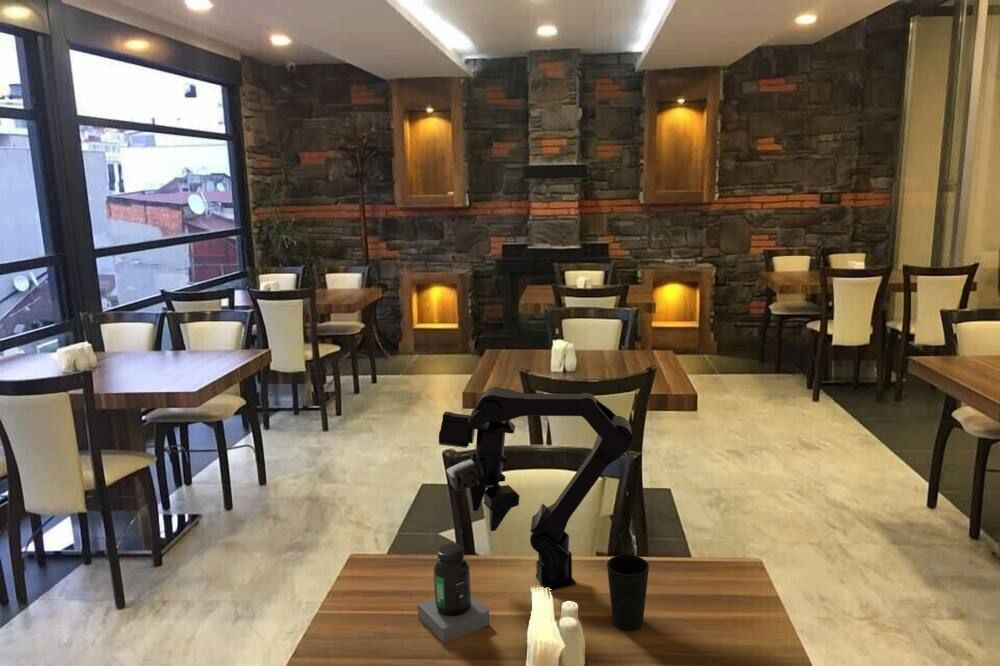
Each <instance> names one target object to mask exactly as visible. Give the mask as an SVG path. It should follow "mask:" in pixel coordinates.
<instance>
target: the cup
mask: <svg viewBox="0 0 1000 666" xmlns="http://www.w3.org/2000/svg"><path fill="white" fill-rule="evenodd" d="M606 567H607V576H608V579H607V580H608V588H609V596H610V597H609V599H610V607H611V608H610V609H611V615H612V616H611V618H612V623H613V626H614V627H615V628H616V629H618V630H620V631H622V632H636V631H639V630H640V629H641V628H642V627H643V624H644V616H645V615H644V614H645V607H646V597H647V588H648V587H647V586H648V579H649V570H650V566H649V562H647V561H646V559H644V558H643V557H641V556H637V555H633V554H619V555H615V556H613V557H611V558H609V559H608V561H607V562H606Z"/></svg>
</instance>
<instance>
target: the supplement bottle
mask: <svg viewBox="0 0 1000 666" xmlns="http://www.w3.org/2000/svg"><path fill="white" fill-rule="evenodd" d="M432 570H433V572H432V573H433V584H434V585H433V586H434V598H435V605H436V609H437V611H438V612H439V613H441V614H443V615H446V616H458V615H461V614H463V613H465V612H467V611H468V610H469V608H470V606H471V595H472V592H471V591H472V590H471V588H472V587H471V572H470V571H471V570H470V563H469V561H468V560H467V559H466V558H465V554H464V548H463V546H462V545H461V544H458V543H450V542H449V543H445V544H443V545H442V544H441V546H440V547H439V548H437V560H436V562H435V563H434V565H433V569H432Z"/></svg>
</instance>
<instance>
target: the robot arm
mask: <svg viewBox="0 0 1000 666" xmlns="http://www.w3.org/2000/svg"><path fill="white" fill-rule="evenodd" d="M520 417H582V418H583V419H584V420H585V421H586V422H587V424H589V426H590V427H591V428H592V430H594V432H595V433H596V434H597V436H596V438H595V441H594V443H593V444H594V445H593V447H592V449H591V451H590V453H588V456H587V457H586V458H585V459H584V461H583V462H582V464H581V465H580V467H579V468H578V469H577V471H576V472H575V474H574V475H573V476H572V478H571V479H570V481H569V482H568V484H567V485H566V487H565V488H564V489H563V490H562V491H561V494H559V495H558V498H557V499H556V500H555V502H554V503H553V504H550V505H549V506H546V504H544V503H541V506H540V507H539V509H538V511H537V512H536V514H534V515H532V518H531V525H530V538H529V539H530V540H529V541H530V545H531V547H532V549H533V550H534V551H535V552H536V553H538V555H537V556H538V560H536V563H535V564H536V574H535V577H536V579H537V581H538V582H539V583H540V585H542V586H543V587H544V586H545V587H549V588H550V589H552V590H551V591H554V590H558V589H562V588H565V587H566V588H567V587H570V586H573V585H574V586H575V585H576V580H575V579H574V578H573V560H572V559H573V558H572V557H573V555H572V552H571V551H570V535H569V534H568V533H567V532H566V531H565V530H566V527H567V524H568V522H569V520H570V519H571V518H572V515H573V514H574V513H575V511H576V510H577V509H578V508H579V506H580V504H581V503H582V502H583V500H584V499H585V497H586V496H587V495H588V494H589V492H590V491H591V489H592V488H593V487H594V485H595V484H596V483H597V481H598V480H599V479H600V476H601V475H602V474H603V473H604V471H605V470H606V469H607V468H608V467H609V466H610V465H611V464H613V463H615V462H616V461H618V460H619V459H621V458H622V456H624V454H626V453H627V451H630V449H631V447H632V445H633V440H634V439H633V433H632V427H631V424H630V423H629V421H628V420H627V418H626V417H623V416H621V415H616V413H614V411H612V410H611V409H610V408H608V407H607V406H606V405H605V404H603V403H602V402H600V401H599V400H598V399H597V398H596V396H594V394H592V393H591V392H590V393H589V392H582V393H526V392H525V393H524V392H523V393H522V392H519V391H516V390H514V389H510V388H505V387H499V386H492V387H489V388H487V389H485V391H483V392H482V395H481V397H480V400H479V401H478V404H477V406H476V407H475V408H473V409H472V411H471V413H470V414H463V413H455V412H451V411H444V412H443V414H442V420H441V424H440V431H439V432H438V444H439V445H440V446H447V447H455V448H463V449H467V448H468V447H469V446H470V444H474V441H475V433H476V443H475V450H473V451H471V452H470V456H469V459H467V458H466V459H461V460H460V461H459V462H458V463H457V464H455V465H452V466H450V467H448V468H447V469H446V470H445V471H446V475H447V477H448V481H449V484H450V486H452V487H453V489H454V490H455V491H457V492H460V491H463V490H467V489H468V494H469V498H470V503H471V508H472V511H473V512H476V511H479V509H480V506H481V504H482V501H483V499H484V501H483V504H484V505H485V506H486V507H487V508H488V515H489V517H488V518H489V529H490V531H491V532H495V531H497V529H498V528H499V526H500V525H501V523H502V521H503V520H504V518H505V517H506V515H507V514H508V513H509V512H510V510H511V509H512V508H515V507H518V506H519V505H520V497H521V495H520V494H519V493H517V491H516V490H515V489H513V487H511V486H510V485H509V484H506V485H500V483H501V482H505V481H506V475H504V473H503V465H504V464H505V463H507V462H508V457H507V456H506V455H505V454H504V451H505V441H506V434H514V433H515V429H516V425H515V424H514V423H513V422H512V420H515V419H518V418H520ZM476 430H477V432H476ZM545 587H544V588H545Z"/></svg>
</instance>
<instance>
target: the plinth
mask: <svg viewBox="0 0 1000 666" xmlns="http://www.w3.org/2000/svg"><path fill="white" fill-rule="evenodd" d="M417 617H418V619H419V620H420V621H421V623H423V624H424V625H425V627H426V628H427V629H428V630H430V632H431V633H432V634H434V636H435V637H436V638H437V639H438V640H439V641H440V642H441V643H442V644H443V645H444V644H446V642H447V643H449V642H452V641H454V640H456V639H458V638H461V637H464V636H466V635H468V634H471V633H473V632H475V630H476V631H478V630H480V629H483V628H485V627H488V626H490V624H491V623H490V610H489V609H488V608H487V607H485V605H484V604H483V603H481V602H480V601H479V600H478V599H477V598H475V597H474V596H473V595H472V594H471V606H470V608H469V610H468V611H467V612H465V613H463V614H461V615H458V616H446V615H443V614H441V613H439V612H438V611H437V609H436V605H435V597H433V598H431V599H427V600H424V601H422V602H419V603H417Z"/></svg>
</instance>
